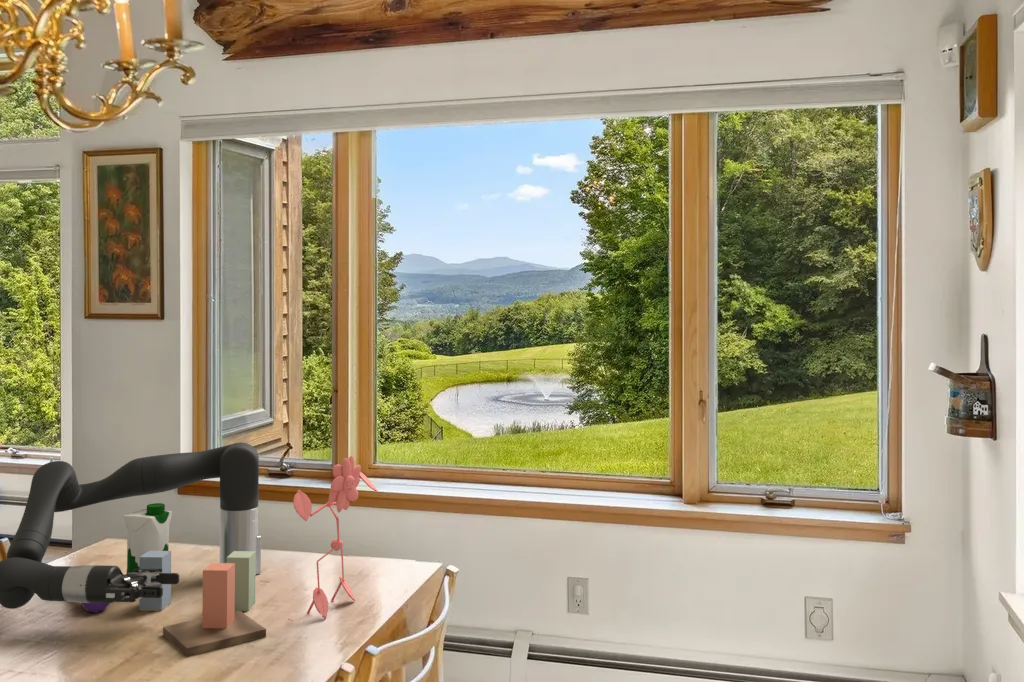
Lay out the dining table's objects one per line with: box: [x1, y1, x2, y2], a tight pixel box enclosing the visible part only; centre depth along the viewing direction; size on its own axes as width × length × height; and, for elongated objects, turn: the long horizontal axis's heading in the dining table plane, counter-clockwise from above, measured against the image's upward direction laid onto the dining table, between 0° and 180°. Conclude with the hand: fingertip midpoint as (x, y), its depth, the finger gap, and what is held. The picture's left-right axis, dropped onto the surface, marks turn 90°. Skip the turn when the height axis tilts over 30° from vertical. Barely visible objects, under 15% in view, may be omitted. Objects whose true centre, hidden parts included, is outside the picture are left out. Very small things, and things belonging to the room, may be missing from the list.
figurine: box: [287, 454, 378, 622], centre depth 184 cm, size 15×26×35 cm, turn 157°
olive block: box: [227, 551, 257, 612], centre depth 187 cm, size 5×5×12 cm
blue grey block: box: [138, 550, 172, 611], centre depth 186 cm, size 5×5×12 cm
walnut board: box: [162, 610, 267, 657], centre depth 170 cm, size 16×14×2 cm
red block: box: [201, 562, 235, 628], centre depth 172 cm, size 5×5×12 cm
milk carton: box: [123, 502, 173, 574], centre depth 199 cm, size 9×9×20 cm
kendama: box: [80, 603, 111, 613], centre depth 187 cm, size 6×6×20 cm
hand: (170, 585), depth 172 cm, fingers open, 8 cm apart
